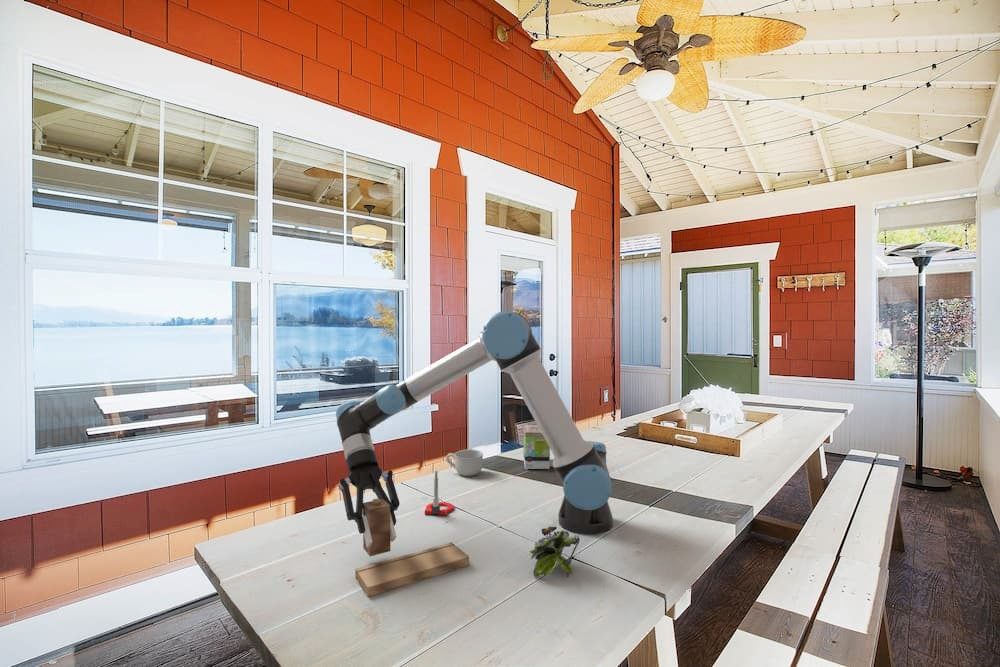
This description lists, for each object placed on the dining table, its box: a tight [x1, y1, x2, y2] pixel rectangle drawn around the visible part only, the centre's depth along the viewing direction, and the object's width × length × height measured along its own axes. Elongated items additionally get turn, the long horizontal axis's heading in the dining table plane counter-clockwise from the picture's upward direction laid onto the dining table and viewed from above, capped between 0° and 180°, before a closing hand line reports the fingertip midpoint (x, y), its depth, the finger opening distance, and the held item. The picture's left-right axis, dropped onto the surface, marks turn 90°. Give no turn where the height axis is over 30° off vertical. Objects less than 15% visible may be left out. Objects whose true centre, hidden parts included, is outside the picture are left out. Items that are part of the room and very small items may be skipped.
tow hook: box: [424, 470, 455, 516], centre depth 148 cm, size 8×13×9 cm
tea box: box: [523, 424, 551, 470], centre depth 194 cm, size 15×10×15 cm
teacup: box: [445, 448, 484, 477], centre depth 183 cm, size 14×11×8 cm
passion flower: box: [528, 525, 581, 578], centre depth 110 cm, size 11×11×12 cm
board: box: [354, 542, 470, 598], centre depth 111 cm, size 24×9×2 cm, turn 123°
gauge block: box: [362, 498, 391, 557], centre depth 116 cm, size 5×5×12 cm
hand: (381, 541), depth 113 cm, fingers closed on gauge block, 5 cm apart
